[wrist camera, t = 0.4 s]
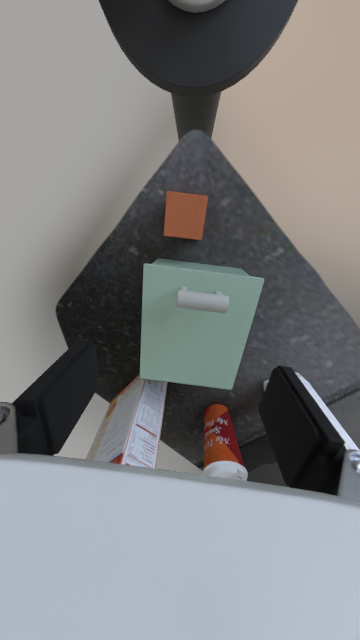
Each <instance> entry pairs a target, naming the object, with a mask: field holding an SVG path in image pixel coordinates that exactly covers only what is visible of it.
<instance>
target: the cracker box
mask: <svg viewBox="0 0 360 640" xmlns="http://www.w3.org/2000/svg"><path fill="white" fill-rule="evenodd" d="M167 383H168V382H167V381H159V380H151V379H143V378H140V374H139V375H138V376H137V377H136V378H135V379H134V380H133V381H132V382H131V383H130V384H129V385H128V386H126V387H125V388H124V389H123V390H122V391H121V392H120V393H119V394H118V395H117V396H116V397H115V398H114V399H113V400H112V401H111V403H110V406H109V408H108V410H107V412H106V415H105V417H104V419H103V421H102V424H101V426H100V428H99V430H98V433H97V435H96V437H95V439H94V442H93V444H92V446H91V448H90V450H89V453H88V455H87V457H86V459H85V460H93V461H100V462H108V463H116V464H123V465H131V466H139V467H146V468H154V469H156V463H157V455H158V448H159V441H160V434H161V426H162V419H163V412H164V405H165V397H166V390H167Z"/></svg>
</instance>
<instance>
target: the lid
mask: <svg viewBox="0 0 360 640" xmlns="http://www.w3.org/2000/svg"><path fill="white" fill-rule="evenodd" d="M263 283H264V279H263V278H259V277H251V276H243V275H235V274H227V273H219V272H211V271H203V270H195V269H187V268H179V267H171V266H163V265H155V264H147V263H145V264H144V267H143V297H142V327H141V357H140V378H143V379H151V380H159V381H167V382H175V383H182V384H190V385H198V386H206V387H214V388H222V389H230V390H232V388H233V384H234V381H235V378H236V374H237V371H238V367H239V364H240V361H241V357H242V354H243V351H244V347H245V344H246V340H247V337H248V334H249V330H250V327H251V324H252V320H253V317H254V313H255V310H256V307H257V303H258V300H259V297H260V293H261V290H262V286H263Z"/></svg>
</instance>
